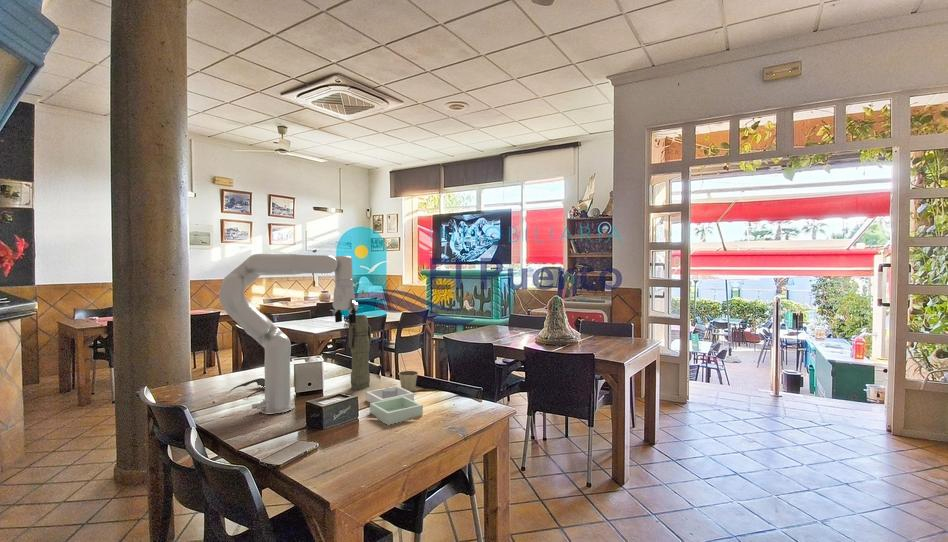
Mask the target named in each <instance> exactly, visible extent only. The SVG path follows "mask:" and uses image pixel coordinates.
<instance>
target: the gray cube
mask: <svg viewBox="0 0 948 542" xmlns="http://www.w3.org/2000/svg"><path fill="white" fill-rule="evenodd" d="M384 388H385V389H384V390H383V391H382V399H385V398H390V397H395V396H397V388H388V387H384Z"/></svg>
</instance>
